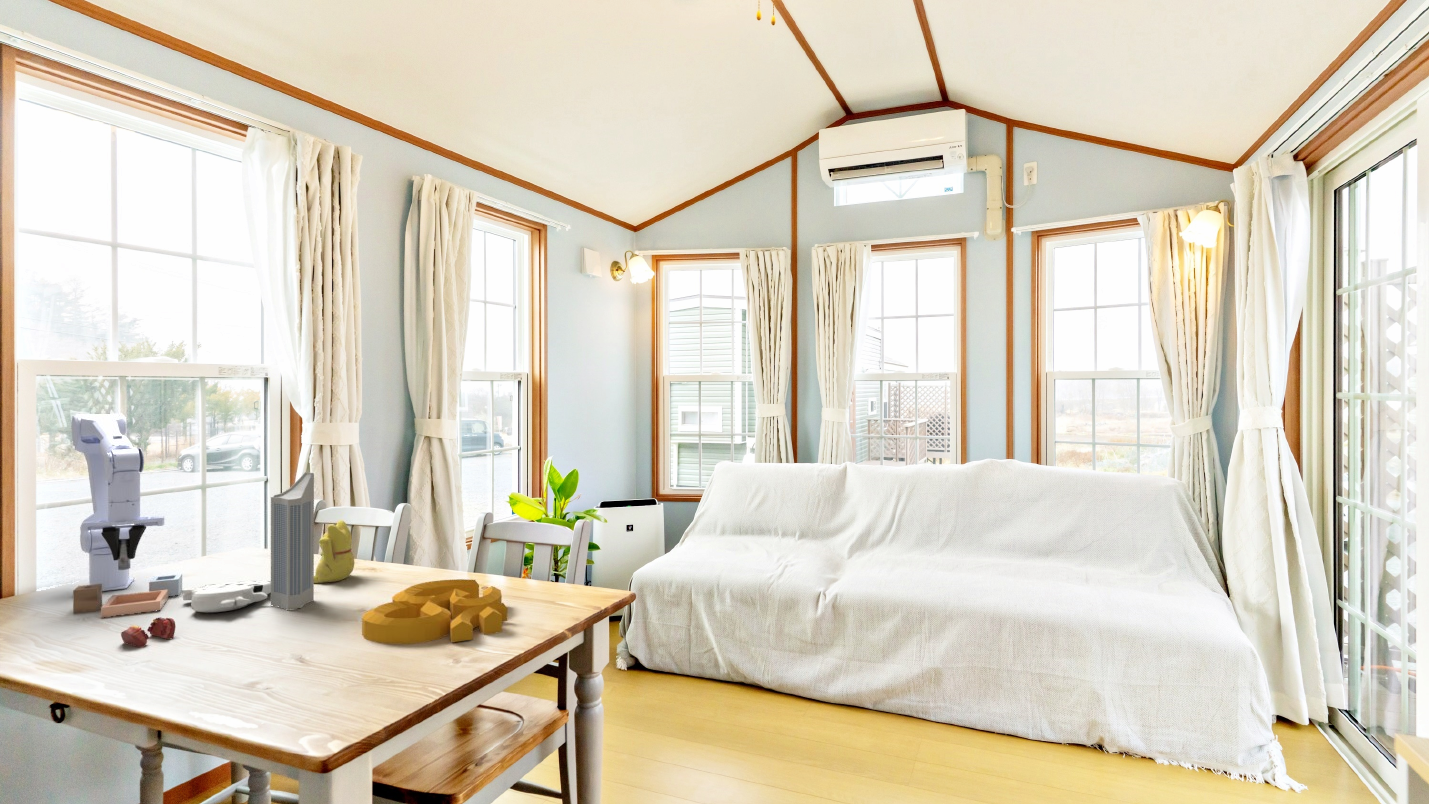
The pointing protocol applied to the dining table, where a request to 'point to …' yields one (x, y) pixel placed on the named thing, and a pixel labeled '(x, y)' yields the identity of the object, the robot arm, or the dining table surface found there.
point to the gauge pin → (123, 553)
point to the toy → (226, 595)
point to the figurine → (335, 554)
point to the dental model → (157, 628)
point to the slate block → (167, 584)
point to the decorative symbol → (436, 613)
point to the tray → (134, 603)
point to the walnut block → (87, 598)
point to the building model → (293, 544)
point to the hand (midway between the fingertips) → (124, 558)
